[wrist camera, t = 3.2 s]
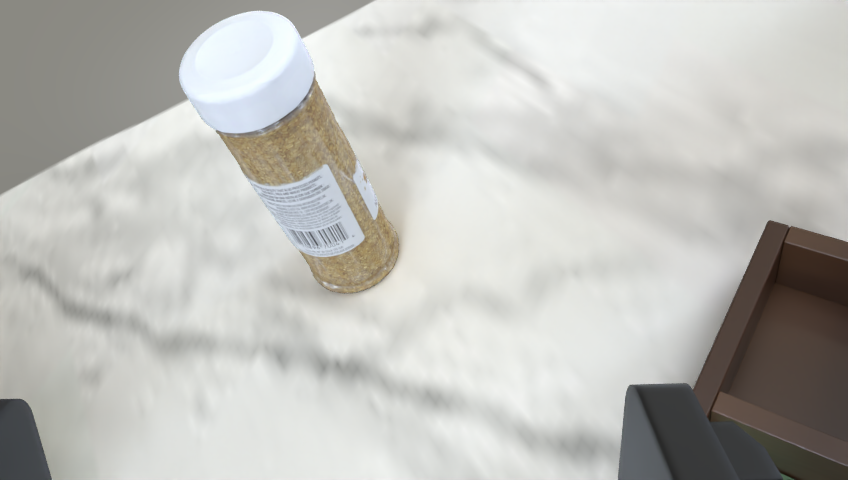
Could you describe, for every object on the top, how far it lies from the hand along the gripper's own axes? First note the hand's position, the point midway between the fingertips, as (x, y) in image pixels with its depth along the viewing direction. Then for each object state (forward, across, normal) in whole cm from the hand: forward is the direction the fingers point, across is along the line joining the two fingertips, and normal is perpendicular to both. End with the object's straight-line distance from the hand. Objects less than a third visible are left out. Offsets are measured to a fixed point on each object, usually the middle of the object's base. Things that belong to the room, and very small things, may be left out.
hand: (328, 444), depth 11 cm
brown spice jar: (+26, +2, +10) cm, 28 cm away
